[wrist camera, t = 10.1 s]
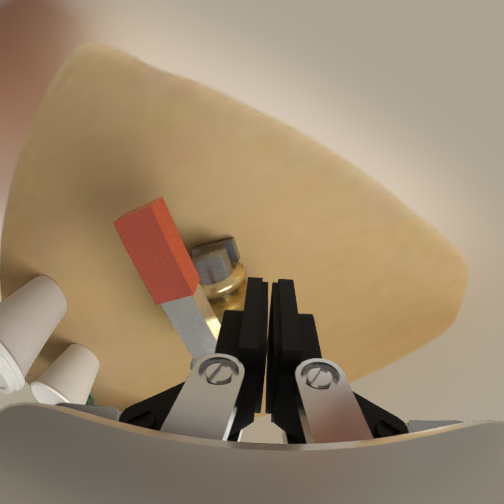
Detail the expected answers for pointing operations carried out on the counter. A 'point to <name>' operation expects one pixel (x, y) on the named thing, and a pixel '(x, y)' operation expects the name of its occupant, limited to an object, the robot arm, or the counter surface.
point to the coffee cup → (27, 328)
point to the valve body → (221, 276)
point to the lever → (170, 275)
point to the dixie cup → (67, 377)
